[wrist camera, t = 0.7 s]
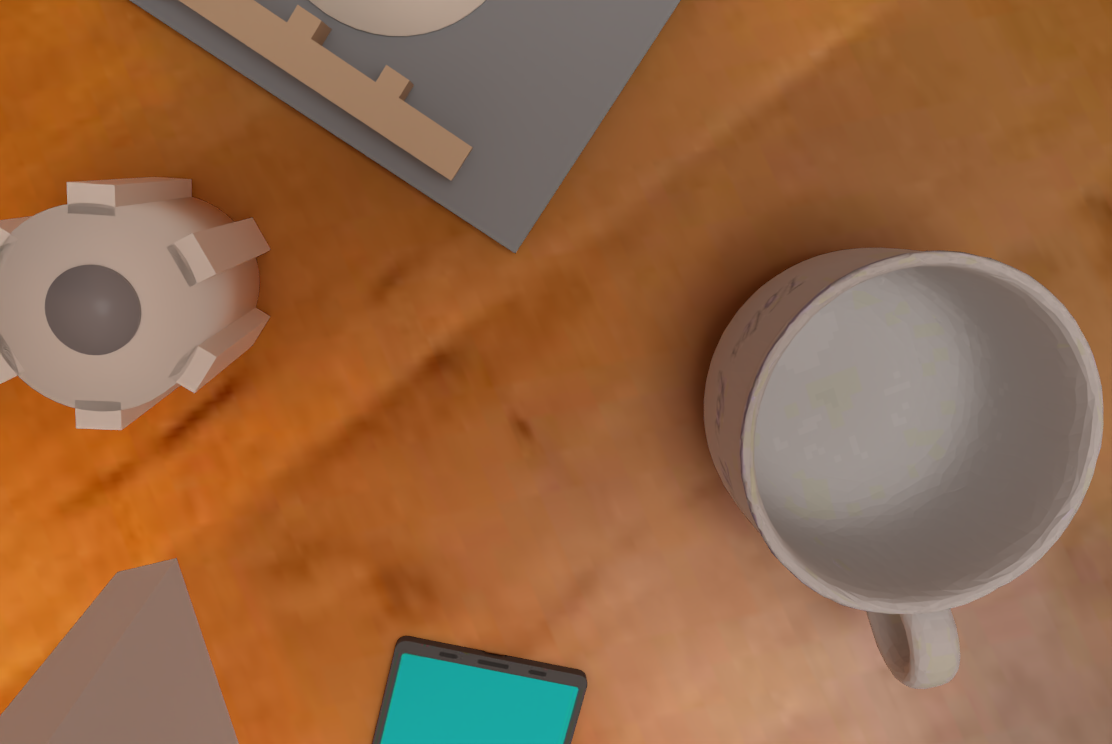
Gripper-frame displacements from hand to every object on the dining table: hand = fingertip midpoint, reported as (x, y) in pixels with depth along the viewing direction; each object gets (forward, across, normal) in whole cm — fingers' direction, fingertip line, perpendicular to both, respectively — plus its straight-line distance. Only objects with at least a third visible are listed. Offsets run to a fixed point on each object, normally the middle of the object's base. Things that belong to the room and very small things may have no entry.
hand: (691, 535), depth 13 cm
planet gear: (+22, -12, +3) cm, 25 cm away
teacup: (+22, +9, -7) cm, 25 cm away
